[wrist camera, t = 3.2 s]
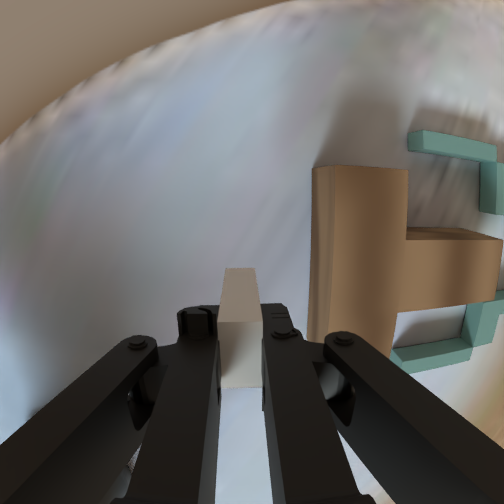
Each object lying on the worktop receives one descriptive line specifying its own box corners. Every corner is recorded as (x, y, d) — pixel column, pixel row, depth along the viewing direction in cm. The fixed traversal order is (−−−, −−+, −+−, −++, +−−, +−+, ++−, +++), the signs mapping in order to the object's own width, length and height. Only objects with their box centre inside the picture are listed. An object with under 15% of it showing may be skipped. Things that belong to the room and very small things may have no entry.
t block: (306, 338, 27) (323, 376, 21) (311, 168, 24) (335, 164, 18) (447, 322, 28) (482, 348, 22) (463, 180, 25) (506, 183, 19)
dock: (388, 362, 28) (399, 375, 25) (407, 133, 23) (423, 129, 21) (523, 332, 29) (535, 339, 26) (544, 164, 24) (559, 165, 22)
